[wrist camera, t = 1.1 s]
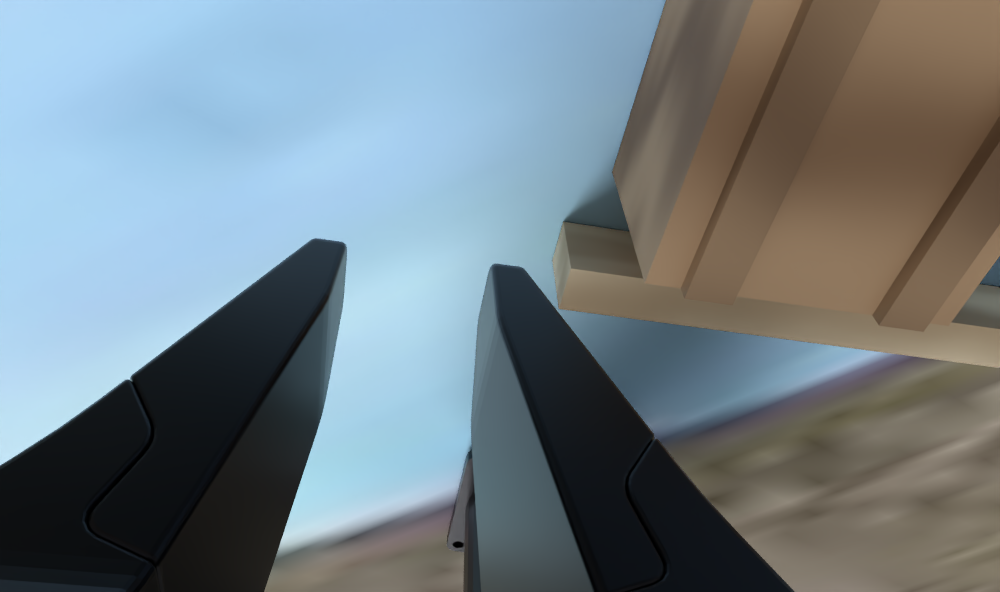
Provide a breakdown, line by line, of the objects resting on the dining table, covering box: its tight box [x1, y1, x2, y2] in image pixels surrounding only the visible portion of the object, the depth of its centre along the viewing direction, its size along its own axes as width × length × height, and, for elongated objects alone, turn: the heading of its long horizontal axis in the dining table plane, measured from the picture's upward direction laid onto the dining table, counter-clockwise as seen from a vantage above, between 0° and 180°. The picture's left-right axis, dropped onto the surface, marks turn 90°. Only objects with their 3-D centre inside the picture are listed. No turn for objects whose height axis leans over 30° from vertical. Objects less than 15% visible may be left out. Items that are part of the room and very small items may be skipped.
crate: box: [612, 0, 1000, 332], centre depth 18 cm, size 8×8×6 cm
